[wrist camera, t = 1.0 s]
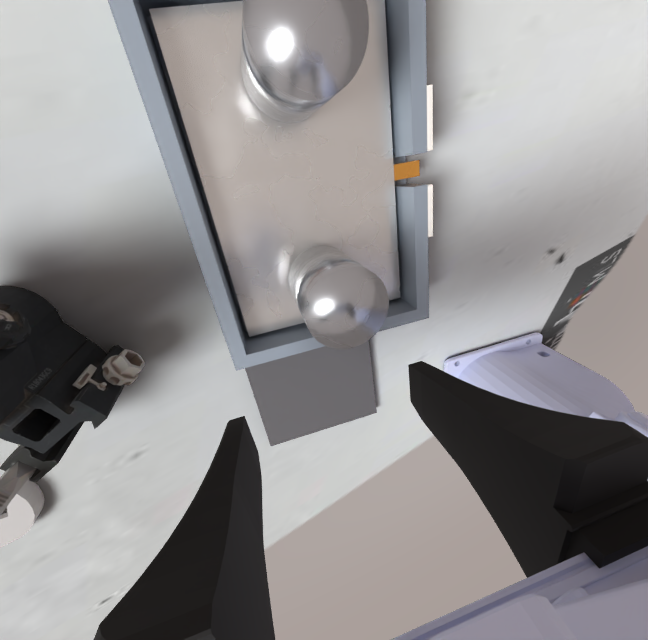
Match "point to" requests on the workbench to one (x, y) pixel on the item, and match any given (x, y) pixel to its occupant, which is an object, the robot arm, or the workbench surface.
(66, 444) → the scope
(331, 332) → the cylinder
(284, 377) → the rubber mat
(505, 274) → the workbench surface
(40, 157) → the workbench surface
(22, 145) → the workbench surface
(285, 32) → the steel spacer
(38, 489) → the adjustable wrench
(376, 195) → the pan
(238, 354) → the tray
